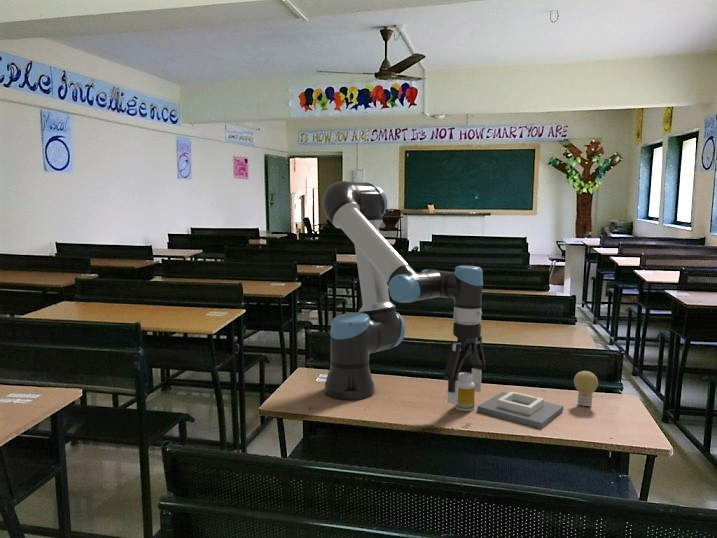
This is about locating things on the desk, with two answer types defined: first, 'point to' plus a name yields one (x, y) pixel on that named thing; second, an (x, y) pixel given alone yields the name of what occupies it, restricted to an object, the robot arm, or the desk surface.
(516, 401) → the holder board
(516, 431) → the desk surface
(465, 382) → the supplement bottle
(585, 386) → the light bulb
